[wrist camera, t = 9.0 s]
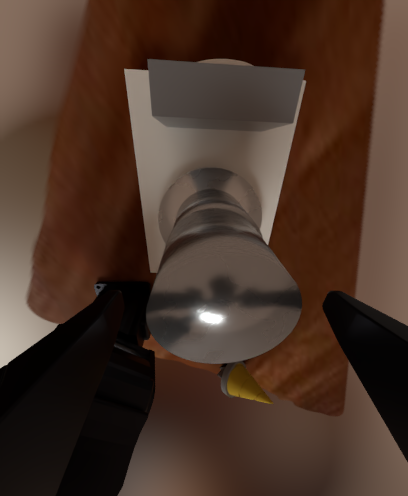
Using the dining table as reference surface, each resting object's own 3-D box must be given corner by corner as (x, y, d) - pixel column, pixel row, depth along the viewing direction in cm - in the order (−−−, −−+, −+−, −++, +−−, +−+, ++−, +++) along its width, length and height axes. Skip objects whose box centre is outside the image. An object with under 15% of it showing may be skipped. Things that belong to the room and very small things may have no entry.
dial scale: (154, 262, 21) (136, 309, 15) (133, 79, 13) (80, 19, 7) (256, 263, 22) (279, 308, 15) (292, 89, 14) (368, 42, 8)
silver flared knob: (168, 290, 13) (154, 365, 8) (161, 207, 10) (134, 253, 6) (252, 290, 13) (281, 362, 9) (269, 208, 10) (324, 254, 6)
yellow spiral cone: (211, 353, 31) (265, 387, 23) (231, 349, 34) (283, 377, 27) (206, 387, 30) (259, 434, 22) (226, 380, 33) (279, 418, 26)
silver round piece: (176, 253, 17) (170, 289, 13) (174, 187, 14) (165, 204, 10) (239, 254, 17) (254, 290, 13) (249, 190, 15) (273, 208, 10)
